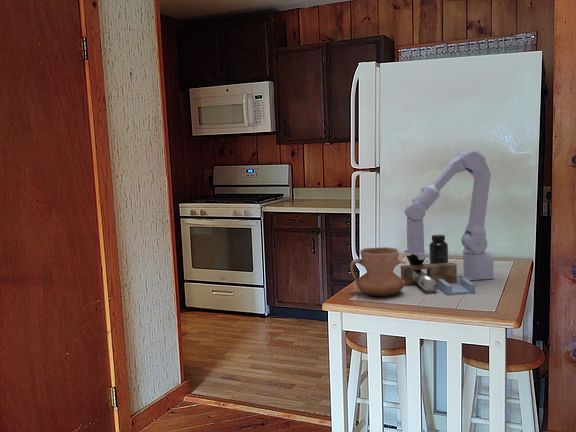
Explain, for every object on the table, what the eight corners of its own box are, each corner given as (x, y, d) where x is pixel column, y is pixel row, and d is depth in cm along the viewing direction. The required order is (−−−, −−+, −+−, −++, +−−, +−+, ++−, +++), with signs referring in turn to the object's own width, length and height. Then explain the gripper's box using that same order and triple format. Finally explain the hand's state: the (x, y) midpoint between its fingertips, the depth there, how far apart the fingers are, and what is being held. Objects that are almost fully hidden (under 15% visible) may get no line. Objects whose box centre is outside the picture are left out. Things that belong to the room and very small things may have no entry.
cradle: (464, 285, 180) (464, 277, 179) (475, 293, 171) (475, 284, 171) (438, 287, 179) (438, 279, 179) (447, 294, 171) (447, 286, 170)
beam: (452, 279, 189) (452, 262, 188) (456, 282, 185) (456, 264, 184) (401, 282, 188) (400, 265, 187) (404, 285, 184) (403, 268, 183)
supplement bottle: (450, 265, 211) (450, 234, 209) (445, 268, 205) (444, 237, 203) (433, 263, 214) (432, 233, 213) (427, 267, 209) (426, 236, 207)
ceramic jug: (410, 288, 180) (409, 246, 179) (404, 300, 167) (402, 255, 165) (356, 286, 187) (355, 245, 185) (346, 298, 173) (344, 253, 171)
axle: (424, 280, 189) (422, 267, 189) (438, 292, 173) (437, 278, 173) (411, 282, 189) (410, 269, 189) (425, 294, 173) (423, 280, 173)
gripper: (398, 234, 196) (399, 272, 198) (409, 241, 182) (410, 281, 183) (418, 233, 196) (419, 270, 198) (430, 240, 182) (431, 280, 183)
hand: (416, 276), depth 191 cm, fingers closed
